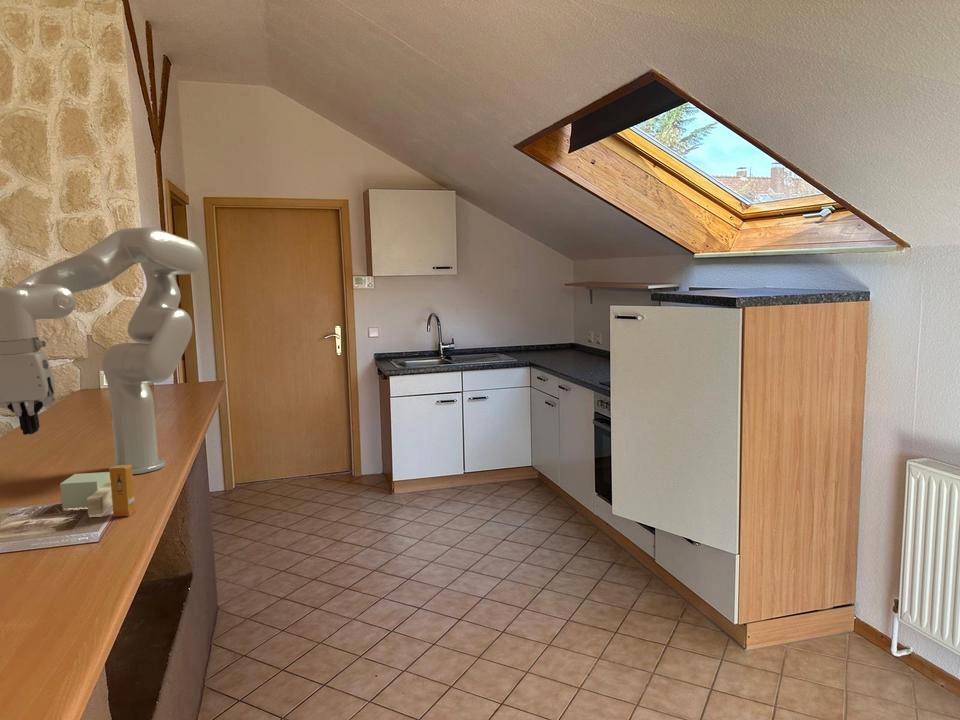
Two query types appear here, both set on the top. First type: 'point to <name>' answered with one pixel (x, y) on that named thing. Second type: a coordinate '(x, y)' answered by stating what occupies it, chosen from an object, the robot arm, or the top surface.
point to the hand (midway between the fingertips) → (31, 432)
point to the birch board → (100, 500)
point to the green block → (81, 488)
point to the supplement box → (122, 490)
